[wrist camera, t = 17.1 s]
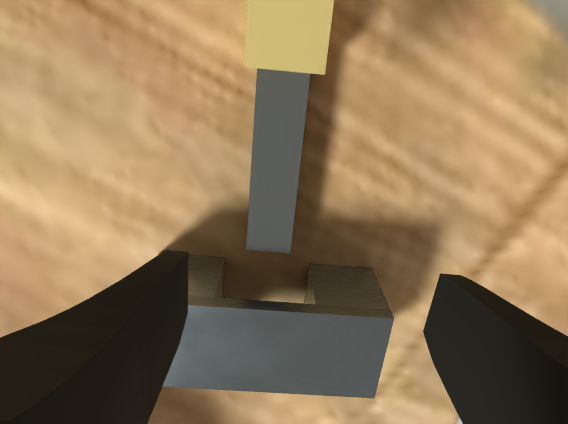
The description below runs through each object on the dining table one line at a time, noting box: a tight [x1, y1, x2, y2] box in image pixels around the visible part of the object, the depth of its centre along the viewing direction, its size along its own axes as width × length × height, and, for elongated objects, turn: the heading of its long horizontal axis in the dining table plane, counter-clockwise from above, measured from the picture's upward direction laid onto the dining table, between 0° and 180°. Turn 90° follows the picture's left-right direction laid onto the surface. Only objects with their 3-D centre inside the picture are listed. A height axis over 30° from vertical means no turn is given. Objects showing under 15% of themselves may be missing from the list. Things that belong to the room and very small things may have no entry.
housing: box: [158, 253, 394, 398], centre depth 21 cm, size 12×5×4 cm, turn 85°
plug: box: [244, 0, 334, 253], centre depth 18 cm, size 12×3×3 cm, turn 175°
